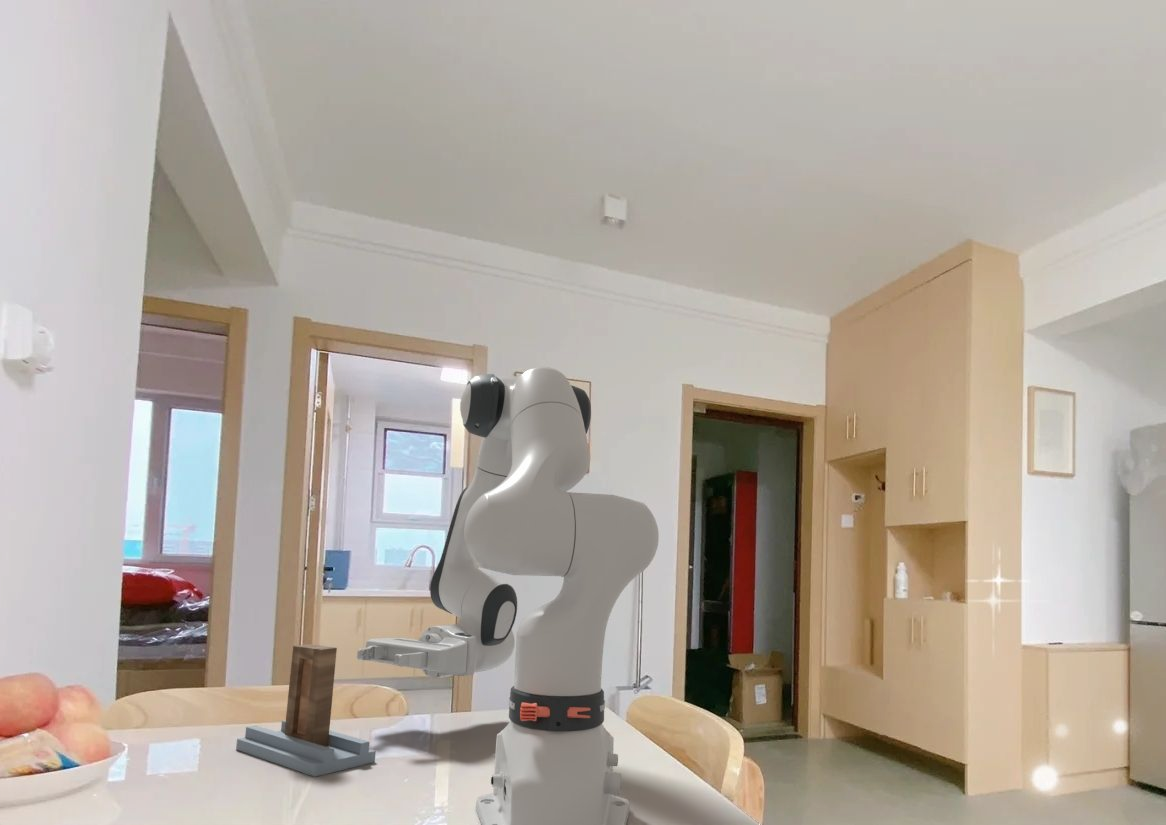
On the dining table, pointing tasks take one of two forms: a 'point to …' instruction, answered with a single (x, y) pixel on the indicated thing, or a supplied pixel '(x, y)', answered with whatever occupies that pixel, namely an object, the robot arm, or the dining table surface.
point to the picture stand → (306, 750)
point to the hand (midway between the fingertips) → (378, 657)
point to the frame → (311, 693)
